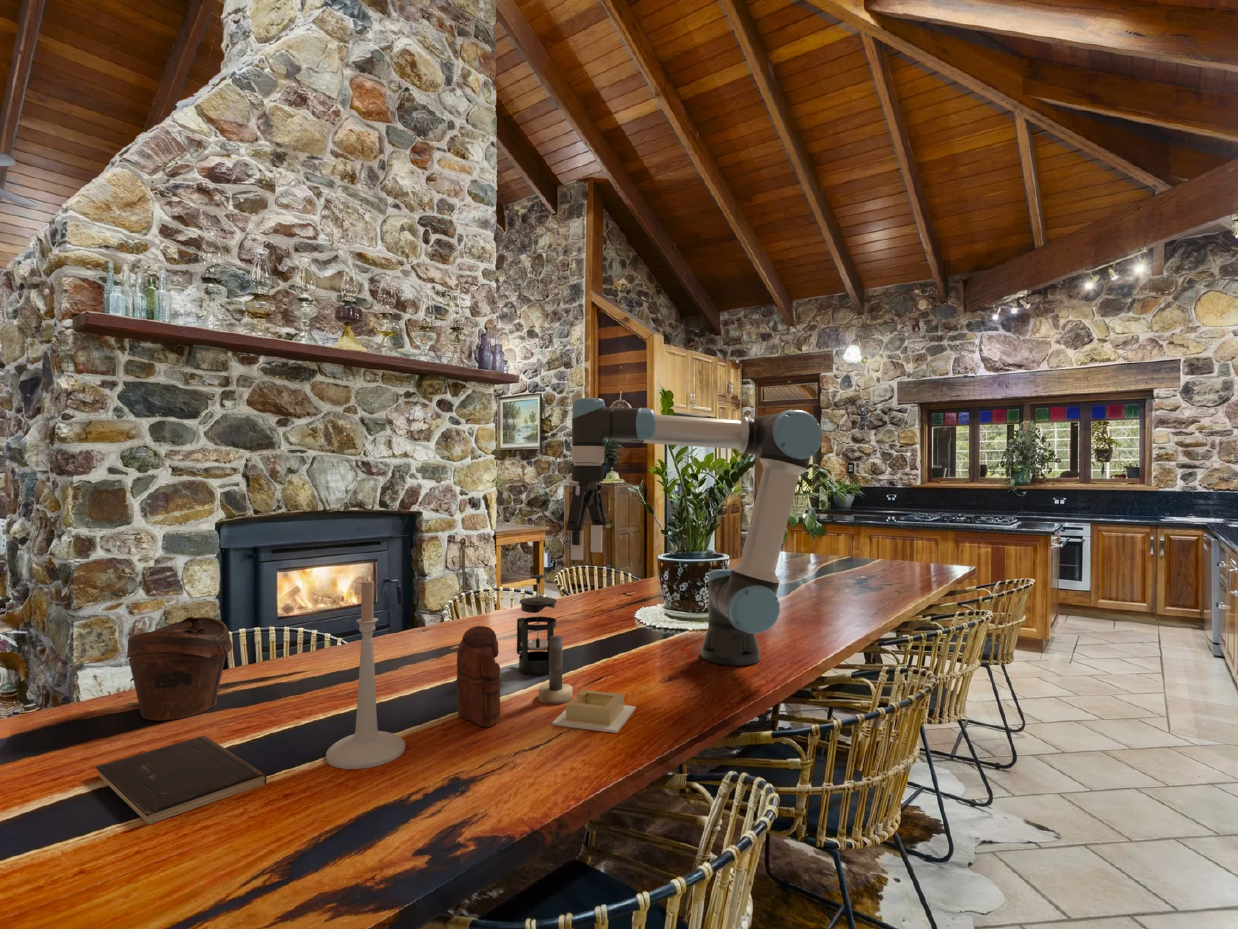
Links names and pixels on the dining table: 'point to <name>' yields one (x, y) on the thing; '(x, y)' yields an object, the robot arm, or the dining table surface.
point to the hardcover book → (179, 778)
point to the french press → (537, 660)
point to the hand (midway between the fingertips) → (587, 555)
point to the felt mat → (599, 727)
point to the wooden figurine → (478, 677)
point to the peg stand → (555, 676)
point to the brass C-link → (595, 707)
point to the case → (178, 667)
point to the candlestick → (366, 706)
